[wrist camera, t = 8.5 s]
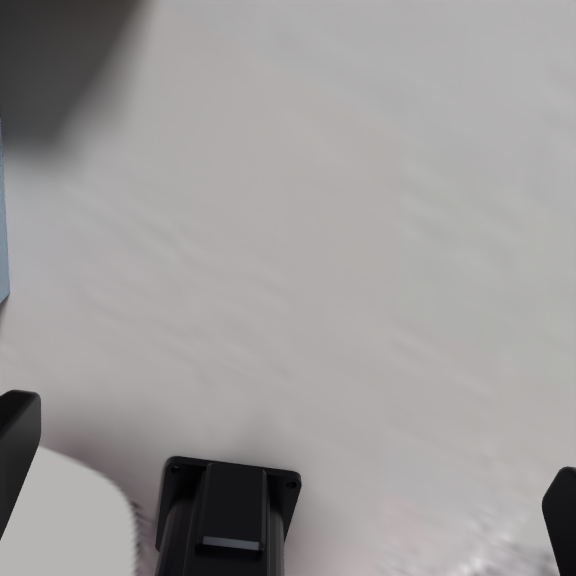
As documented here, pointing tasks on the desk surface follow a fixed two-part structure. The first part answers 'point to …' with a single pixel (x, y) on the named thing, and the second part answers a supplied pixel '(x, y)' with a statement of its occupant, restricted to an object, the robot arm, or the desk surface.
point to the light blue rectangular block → (3, 235)
